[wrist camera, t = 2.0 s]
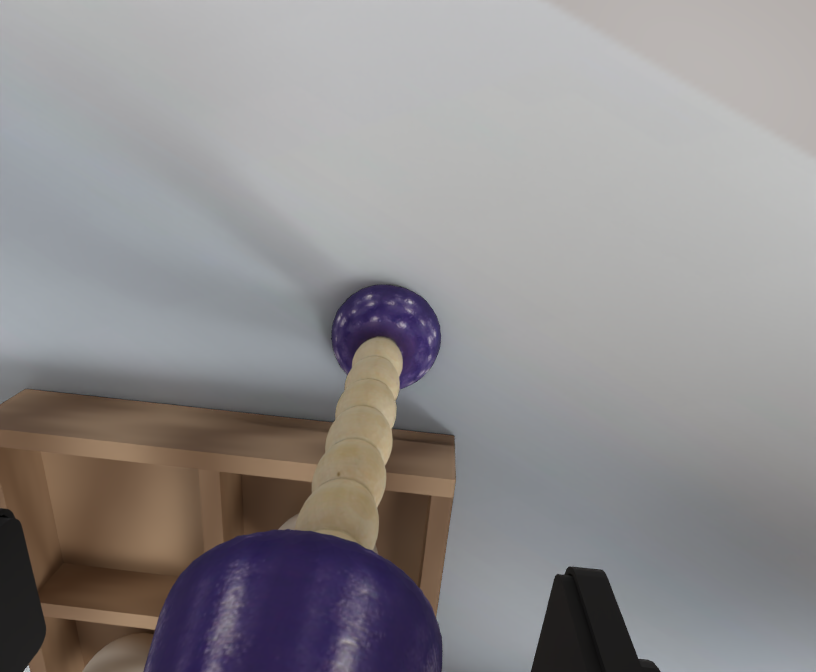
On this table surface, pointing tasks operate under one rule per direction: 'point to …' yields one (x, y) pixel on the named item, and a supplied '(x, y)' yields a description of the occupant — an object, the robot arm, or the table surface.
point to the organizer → (179, 503)
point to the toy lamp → (321, 536)
